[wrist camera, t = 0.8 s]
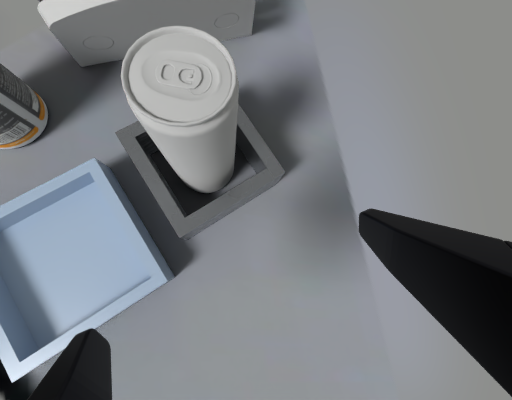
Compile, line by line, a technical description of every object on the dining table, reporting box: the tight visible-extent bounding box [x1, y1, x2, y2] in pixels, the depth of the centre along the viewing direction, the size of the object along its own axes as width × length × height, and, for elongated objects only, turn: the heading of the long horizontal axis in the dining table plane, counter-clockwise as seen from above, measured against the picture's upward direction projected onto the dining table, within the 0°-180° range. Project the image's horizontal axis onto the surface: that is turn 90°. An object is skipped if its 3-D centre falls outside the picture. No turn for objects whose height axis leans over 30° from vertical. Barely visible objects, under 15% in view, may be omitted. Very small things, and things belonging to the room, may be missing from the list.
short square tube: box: [115, 104, 285, 240], centre depth 20 cm, size 9×9×4 cm
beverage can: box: [121, 26, 239, 193], centre depth 16 cm, size 5×5×12 cm
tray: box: [0, 158, 175, 382], centre depth 18 cm, size 11×11×2 cm
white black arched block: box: [38, 0, 256, 67], centre depth 20 cm, size 17×5×10 cm, turn 108°
